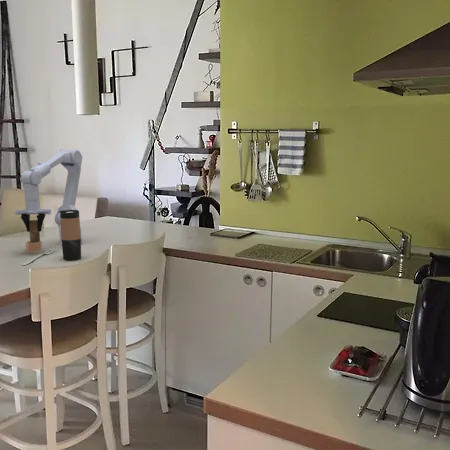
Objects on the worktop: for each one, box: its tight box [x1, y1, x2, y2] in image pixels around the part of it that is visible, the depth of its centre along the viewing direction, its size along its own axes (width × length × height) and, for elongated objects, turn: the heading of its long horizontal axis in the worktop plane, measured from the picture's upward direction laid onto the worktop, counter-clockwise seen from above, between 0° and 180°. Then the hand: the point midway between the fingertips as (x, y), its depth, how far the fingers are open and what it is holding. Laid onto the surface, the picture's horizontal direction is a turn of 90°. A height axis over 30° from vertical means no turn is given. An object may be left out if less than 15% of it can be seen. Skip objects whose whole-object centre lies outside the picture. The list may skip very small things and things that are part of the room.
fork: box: [22, 246, 57, 266], centre depth 223 cm, size 3×24×2 cm, turn 168°
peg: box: [28, 219, 41, 243], centre depth 228 cm, size 4×4×9 cm
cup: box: [25, 240, 43, 252], centre depth 237 cm, size 6×6×4 cm
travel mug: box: [60, 209, 82, 262], centre depth 220 cm, size 8×8×20 cm
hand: (34, 231), depth 228 cm, fingers closed on peg, 4 cm apart
